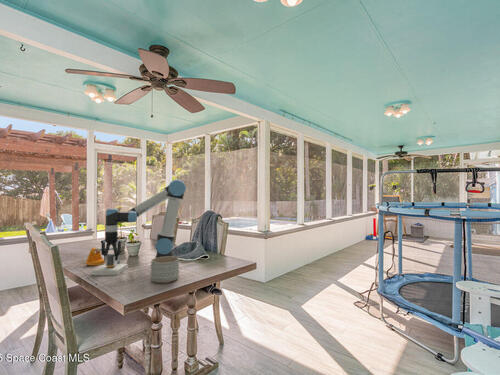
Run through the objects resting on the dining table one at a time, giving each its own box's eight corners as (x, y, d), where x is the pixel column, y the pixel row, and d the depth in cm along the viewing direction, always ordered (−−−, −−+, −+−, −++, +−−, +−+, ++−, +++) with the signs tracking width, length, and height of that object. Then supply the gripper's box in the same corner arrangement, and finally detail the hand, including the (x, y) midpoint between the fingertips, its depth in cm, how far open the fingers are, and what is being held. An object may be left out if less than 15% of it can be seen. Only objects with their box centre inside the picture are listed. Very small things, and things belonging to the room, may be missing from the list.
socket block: (127, 268, 189) (127, 263, 189) (116, 275, 173) (117, 270, 173) (105, 268, 188) (105, 263, 188) (92, 275, 172) (92, 270, 172)
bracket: (90, 266, 192) (91, 250, 192) (86, 265, 196) (86, 248, 196) (105, 263, 200) (106, 247, 201) (101, 262, 205) (101, 246, 205)
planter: (151, 285, 154) (152, 264, 154) (150, 277, 169) (150, 257, 169) (180, 282, 160) (180, 261, 161) (176, 274, 175) (176, 255, 176)
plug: (116, 270, 183) (116, 253, 183) (112, 272, 178) (112, 255, 178) (109, 270, 183) (109, 253, 183) (105, 272, 178) (105, 255, 178)
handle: (119, 267, 190) (119, 247, 190) (94, 269, 183) (94, 249, 184) (119, 266, 192) (120, 247, 192) (94, 268, 186) (95, 248, 186)
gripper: (127, 230, 185) (126, 263, 185) (101, 230, 185) (100, 263, 184) (122, 232, 178) (121, 266, 177) (95, 232, 177) (94, 266, 177)
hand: (110, 265), depth 181 cm, fingers closed on plug, 5 cm apart
